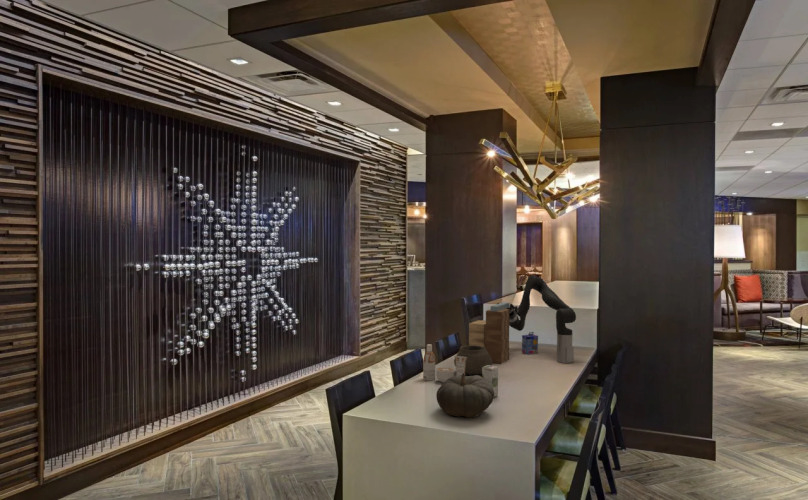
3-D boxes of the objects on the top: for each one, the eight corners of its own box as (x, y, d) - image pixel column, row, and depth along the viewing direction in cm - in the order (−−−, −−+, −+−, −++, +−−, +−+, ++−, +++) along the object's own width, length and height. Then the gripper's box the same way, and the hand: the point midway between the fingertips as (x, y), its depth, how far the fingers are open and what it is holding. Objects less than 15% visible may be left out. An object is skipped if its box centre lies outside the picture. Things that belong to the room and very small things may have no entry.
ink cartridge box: (526, 354, 360) (526, 332, 360) (521, 353, 365) (521, 331, 365) (538, 353, 364) (538, 332, 364) (533, 351, 369) (533, 330, 369)
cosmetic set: (469, 382, 286) (470, 347, 285) (463, 386, 278) (463, 350, 277) (427, 376, 298) (427, 342, 298) (419, 380, 290) (420, 345, 290)
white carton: (487, 394, 264) (487, 364, 264) (498, 396, 260) (498, 366, 260) (481, 396, 260) (481, 366, 259) (492, 399, 256) (492, 368, 256)
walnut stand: (493, 357, 349) (494, 308, 349) (508, 359, 345) (509, 309, 344) (485, 362, 335) (485, 310, 335) (501, 364, 331) (501, 311, 330)
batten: (503, 306, 356) (503, 302, 356) (509, 307, 355) (509, 302, 355) (490, 311, 334) (490, 306, 334) (496, 311, 332) (496, 306, 332)
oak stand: (478, 352, 365) (479, 320, 365) (492, 354, 361) (493, 321, 360) (468, 357, 349) (469, 323, 349) (483, 359, 345) (483, 324, 344)
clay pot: (491, 379, 293) (491, 352, 292) (451, 377, 297) (452, 350, 297) (492, 370, 314) (492, 344, 314) (456, 368, 318) (456, 343, 318)
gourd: (494, 398, 246) (490, 363, 244) (498, 426, 222) (494, 386, 219) (439, 402, 249) (435, 367, 246) (437, 429, 225) (433, 390, 222)
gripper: (501, 308, 368) (494, 298, 356) (521, 310, 362) (515, 299, 349) (499, 318, 365) (492, 309, 353) (520, 320, 358) (514, 310, 346)
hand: (504, 304), depth 351 cm, fingers open, 8 cm apart
